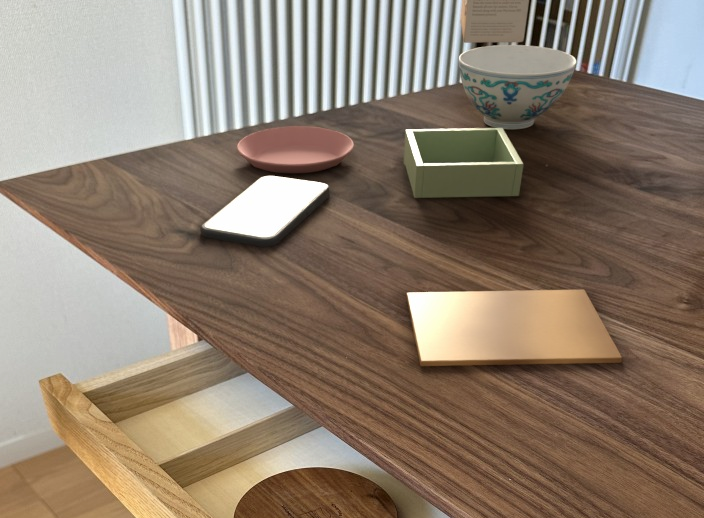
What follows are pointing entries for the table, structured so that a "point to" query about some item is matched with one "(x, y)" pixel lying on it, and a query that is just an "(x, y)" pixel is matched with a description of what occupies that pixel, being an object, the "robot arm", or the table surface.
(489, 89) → the chinaware
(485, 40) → the small box
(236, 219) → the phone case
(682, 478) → the table surface
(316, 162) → the plate
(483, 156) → the open bin
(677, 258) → the table surface
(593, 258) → the table surface
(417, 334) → the gold metal mat
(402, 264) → the table surface
